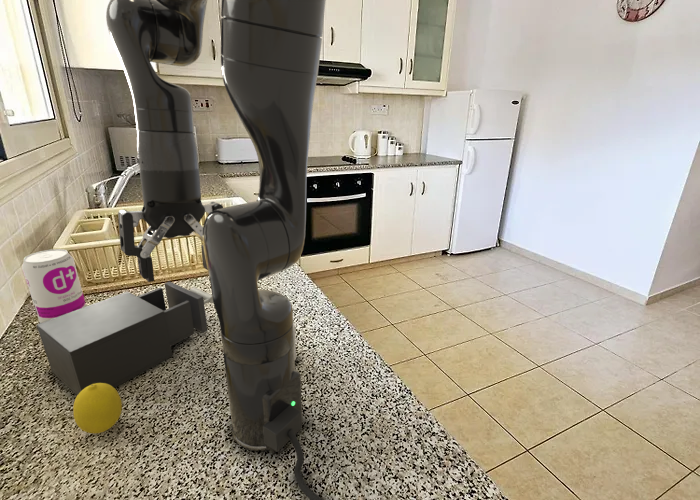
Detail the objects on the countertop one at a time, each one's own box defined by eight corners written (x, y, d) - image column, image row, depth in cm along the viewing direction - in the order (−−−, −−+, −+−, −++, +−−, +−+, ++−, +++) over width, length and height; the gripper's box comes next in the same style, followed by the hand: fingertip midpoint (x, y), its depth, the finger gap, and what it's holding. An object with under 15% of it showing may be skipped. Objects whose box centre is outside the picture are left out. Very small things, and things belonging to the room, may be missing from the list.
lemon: (105, 449, 50) (92, 403, 47) (71, 442, 51) (55, 396, 48) (135, 418, 55) (124, 375, 53) (103, 412, 56) (91, 369, 54)
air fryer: (136, 333, 76) (127, 291, 72) (172, 356, 69) (164, 310, 66) (51, 372, 64) (36, 324, 61) (85, 403, 58) (69, 352, 54)
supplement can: (95, 317, 81) (79, 253, 75) (51, 335, 74) (29, 267, 69) (77, 306, 85) (60, 245, 79) (34, 323, 78) (12, 257, 73)
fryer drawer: (192, 305, 85) (187, 274, 82) (225, 321, 79) (221, 288, 76) (109, 343, 71) (100, 307, 68) (141, 365, 65) (133, 327, 62)
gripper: (117, 169, 45) (134, 293, 50) (230, 167, 54) (235, 271, 59) (104, 164, 50) (121, 276, 55) (209, 162, 59) (215, 258, 64)
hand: (180, 274), depth 57 cm, fingers open, 8 cm apart
